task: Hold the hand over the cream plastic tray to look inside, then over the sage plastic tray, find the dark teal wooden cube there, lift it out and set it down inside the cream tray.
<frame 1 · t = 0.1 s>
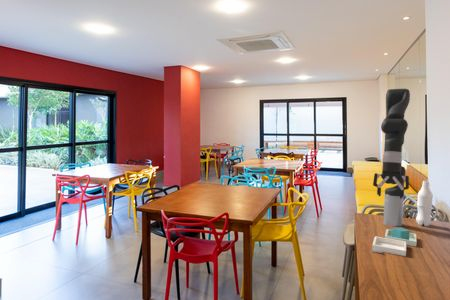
hand: (389, 197, 138), 22 cm above the table, tool pointing down, fingers open, 8 cm apart
water bottle: (423, 225, 170), on the table
cream tray: (389, 249, 134), on the table
teal cube: (400, 239, 144), point 1 cm above the table, touching sage tray
sage tray: (400, 241, 145), on the table
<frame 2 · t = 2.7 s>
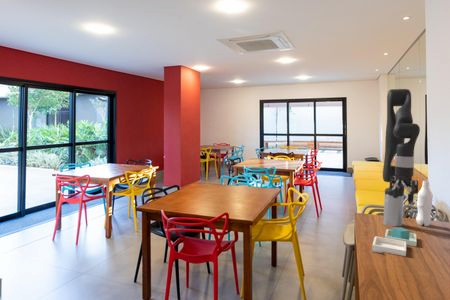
hand: (402, 199, 143), 20 cm above the table, tool pointing down, fingers open, 8 cm apart
nothing on the table moved.
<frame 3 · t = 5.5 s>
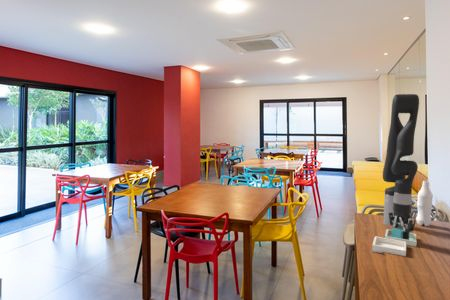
hand: (400, 237, 144), 2 cm above the table, tool pointing down, fingers closed on teal cube, 5 cm apart
teal cube: (400, 239, 144), point 1 cm above the table, touching gripper, sage tray
everything else where it was.
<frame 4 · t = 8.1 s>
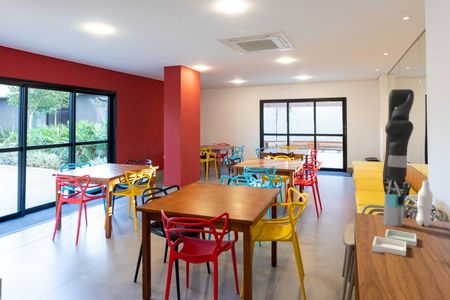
hand: (395, 203, 135), 20 cm above the table, tool pointing down, fingers closed on teal cube, 5 cm apart
teal cube: (395, 206, 135), point 19 cm above the table, touching gripper
everything else where it was.
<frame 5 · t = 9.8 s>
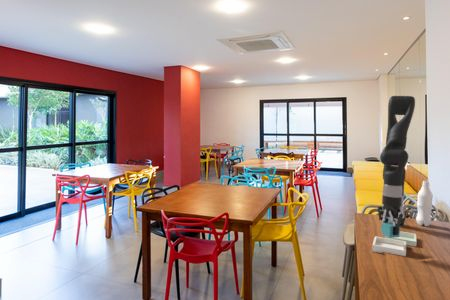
hand: (390, 232, 133), 8 cm above the table, tool pointing down, fingers closed on teal cube, 5 cm apart
teal cube: (390, 235, 133), point 7 cm above the table, touching gripper
everything else where it was.
when the fingers open (4 cm above the table, at t = 10.9 s): teal cube drops 2 cm, resting on cream tray.
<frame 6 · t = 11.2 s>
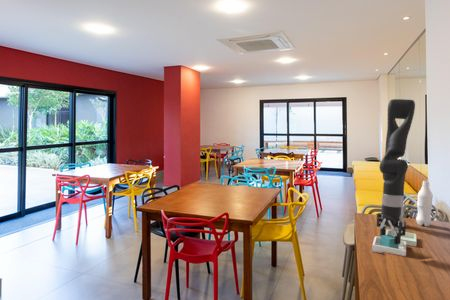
hand: (389, 240, 134), 4 cm above the table, tool pointing down, fingers open, 7 cm apart
teal cube: (389, 247, 134), point 1 cm above the table, touching cream tray
everything else where it was.
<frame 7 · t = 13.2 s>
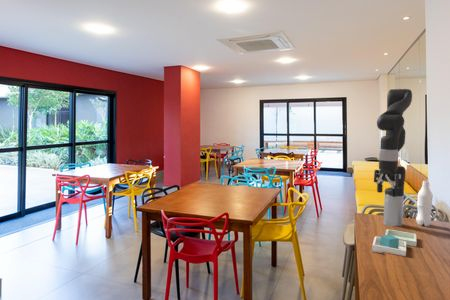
hand: (386, 194, 138), 24 cm above the table, tool pointing down, fingers open, 8 cm apart
nothing on the table moved.
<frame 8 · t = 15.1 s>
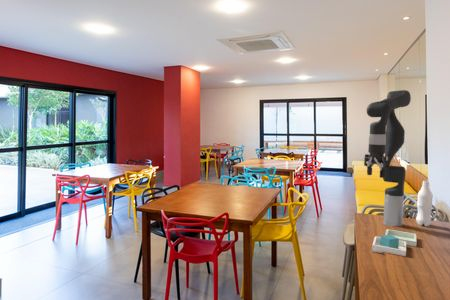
hand: (375, 176, 150), 30 cm above the table, tool pointing down, fingers open, 8 cm apart
nothing on the table moved.
at the end: teal cube inside the target area on the cream tray (0.1 cm from its centre), point 0.8 cm above the cream tray's base; the gripper is holding nothing; teal cube tilted 0° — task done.
